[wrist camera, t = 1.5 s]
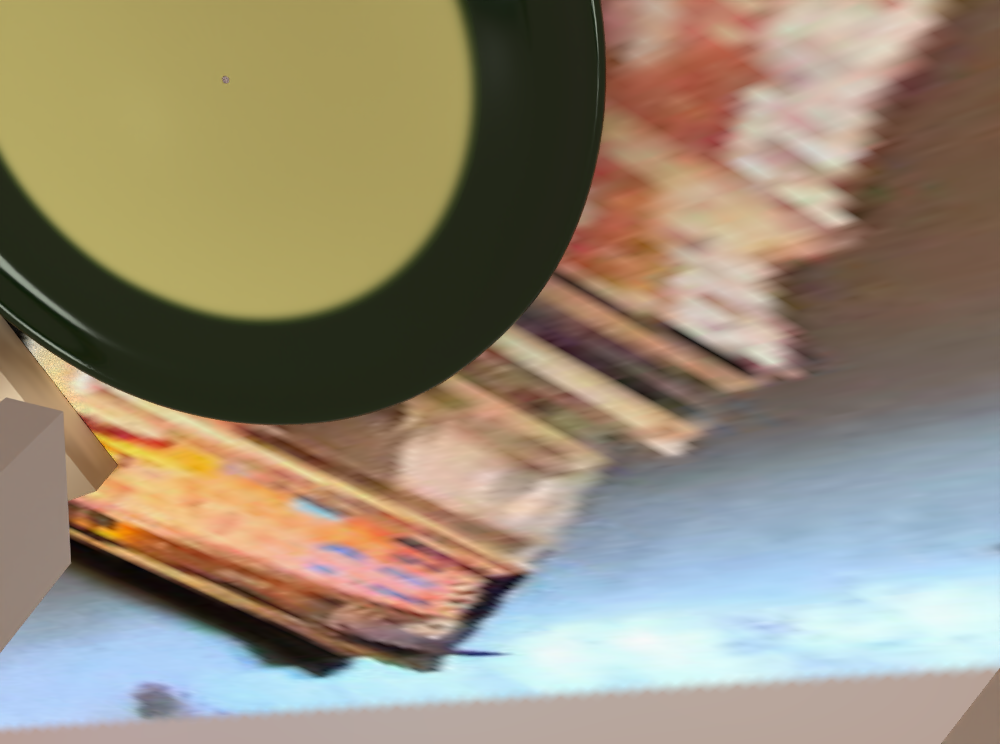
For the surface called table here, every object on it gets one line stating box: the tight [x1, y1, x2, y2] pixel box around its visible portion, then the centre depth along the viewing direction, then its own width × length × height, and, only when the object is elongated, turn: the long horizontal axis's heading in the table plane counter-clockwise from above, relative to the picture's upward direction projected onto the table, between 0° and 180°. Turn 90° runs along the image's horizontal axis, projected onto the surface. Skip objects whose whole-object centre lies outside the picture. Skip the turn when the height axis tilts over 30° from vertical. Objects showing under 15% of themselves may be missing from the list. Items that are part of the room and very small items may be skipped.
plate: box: [0, 0, 606, 425], centre depth 31 cm, size 28×28×2 cm
